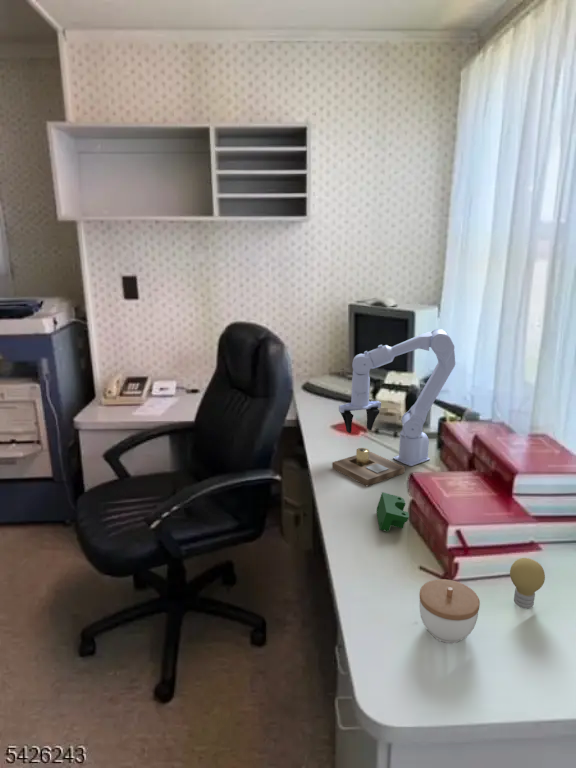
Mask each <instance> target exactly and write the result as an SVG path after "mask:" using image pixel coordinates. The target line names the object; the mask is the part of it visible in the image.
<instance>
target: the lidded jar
mask: <svg viewBox="0 0 576 768" xmlns="http://www.w3.org/2000/svg"><path fill="white" fill-rule="evenodd" d="M420 587H421V588H420V589H419V614H420V618H421V621H422V623H423V625H424V627H425V628H426V630H427V631H428V632H429V633H430V634H431V636H432V637H433V638H435V640H437V641H440V642H442V643H445V644H455V643H456V644H457V643H459V642H460V641H461V640H464V639H465V638H467V637H468V636H469V635H470V634H471V633H472V631H473V630H474V629H475V627H476V623H477V621H478V617H479V610H480V605H481V603H480V601H481V600H480V598H479V596H478V595H477V593H476V592H475V591H474V589H472V588H471V587H469V586H468V585H466V584H464V583H462V582H459V581H456V580H453V579H445V578H444V579H443V578H442V579H433V580H430V581H427V582H425V583H424V584H423V585H422V586H420Z"/></svg>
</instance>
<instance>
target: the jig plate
mask: <svg viewBox="0 0 576 768" xmlns="http://www.w3.org/2000/svg"><path fill="white" fill-rule="evenodd" d="M331 465H332V466H331V468H332V469H333V470H335V471H336V472H337V471H338V472H339V473H341V474H343V475H344V476H347V477H349V478H350V477H351V479H352V478H353V480H354V479H355V481H356V480H357V482H359V483H360V484H362V485H364V486H366V487H369V486H372V485H374V484H377V483H380V482H382V481H386V480H388V479H391V478H394V477H396V476H399V475H403V474H405V472H406V471H405V468H406V467H405V466H404V465H402V464H399V463H396V462H394V461H392V460H390V459H387V458H386V457H383V456H381V455H379V454H376V453H374V452H372V451H370V450H369V465H366V466H363V467H360V466H358V465H356V454H355V455H352V456H349V457H346V458H343V459H339V460H335V461H332V463H331Z"/></svg>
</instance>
